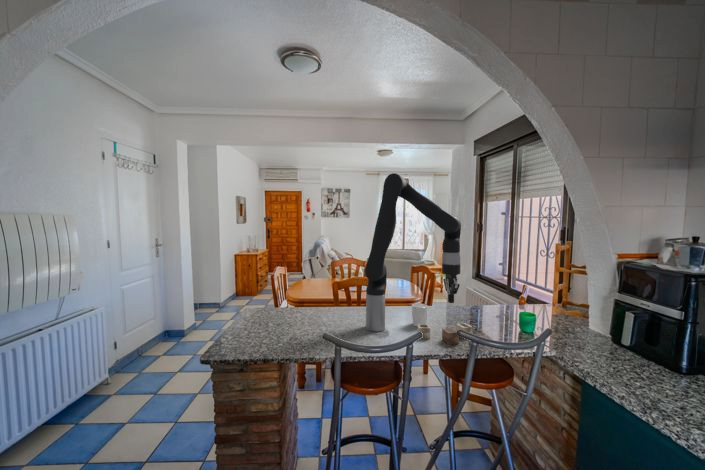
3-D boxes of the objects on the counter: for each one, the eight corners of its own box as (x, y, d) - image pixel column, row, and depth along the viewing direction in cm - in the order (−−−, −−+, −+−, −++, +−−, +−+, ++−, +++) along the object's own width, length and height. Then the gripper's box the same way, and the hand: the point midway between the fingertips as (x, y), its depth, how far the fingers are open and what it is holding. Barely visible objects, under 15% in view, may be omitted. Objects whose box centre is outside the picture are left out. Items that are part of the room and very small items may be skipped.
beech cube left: (418, 338, 124) (418, 327, 124) (417, 334, 129) (417, 323, 129) (430, 339, 124) (430, 327, 124) (428, 334, 129) (428, 324, 129)
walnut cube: (448, 344, 118) (448, 333, 118) (442, 340, 123) (442, 328, 123) (458, 343, 119) (458, 332, 119) (452, 339, 124) (452, 328, 124)
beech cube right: (463, 338, 125) (463, 327, 125) (456, 334, 130) (456, 323, 130) (472, 337, 126) (472, 326, 126) (465, 333, 131) (465, 322, 131)
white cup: (423, 328, 136) (424, 308, 136) (409, 325, 141) (409, 305, 141) (429, 324, 142) (430, 305, 142) (415, 321, 147) (415, 302, 147)
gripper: (437, 261, 127) (437, 298, 127) (448, 264, 113) (447, 307, 114) (453, 260, 127) (453, 298, 127) (466, 264, 113) (466, 306, 114)
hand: (450, 302), depth 120 cm, fingers closed
